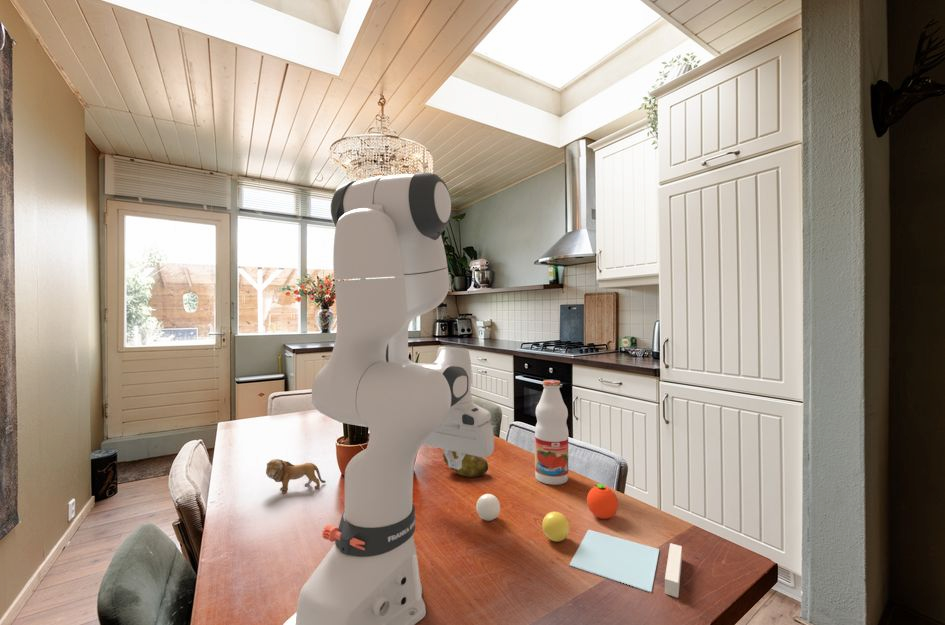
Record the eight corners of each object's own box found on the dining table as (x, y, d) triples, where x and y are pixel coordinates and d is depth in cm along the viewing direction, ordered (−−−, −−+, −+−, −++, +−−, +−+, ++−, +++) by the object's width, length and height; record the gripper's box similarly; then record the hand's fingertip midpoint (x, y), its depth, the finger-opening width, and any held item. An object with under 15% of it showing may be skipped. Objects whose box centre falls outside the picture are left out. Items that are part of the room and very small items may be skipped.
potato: (477, 484, 109) (477, 455, 109) (439, 474, 115) (439, 447, 115) (490, 473, 116) (490, 446, 116) (453, 465, 122) (453, 439, 122)
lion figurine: (266, 499, 99) (266, 464, 99) (265, 491, 104) (265, 457, 104) (327, 487, 106) (327, 454, 106) (324, 480, 111) (324, 448, 111)
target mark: (651, 592, 66) (651, 591, 66) (569, 565, 73) (569, 564, 73) (659, 550, 78) (659, 549, 78) (588, 530, 85) (588, 529, 85)
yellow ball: (564, 550, 78) (564, 522, 78) (538, 542, 81) (538, 515, 81) (572, 536, 83) (572, 510, 83) (547, 529, 86) (547, 504, 86)
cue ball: (493, 528, 86) (493, 502, 86) (471, 521, 89) (471, 496, 89) (504, 516, 91) (504, 493, 91) (483, 510, 94) (483, 487, 94)
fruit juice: (565, 472, 117) (565, 378, 117) (571, 486, 107) (571, 384, 108) (533, 471, 117) (533, 378, 118) (536, 485, 108) (536, 383, 108)
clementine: (581, 507, 95) (581, 478, 95) (608, 506, 96) (608, 477, 96) (593, 525, 87) (593, 493, 87) (623, 524, 88) (623, 492, 88)
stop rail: (678, 598, 65) (678, 582, 65) (664, 593, 66) (664, 578, 66) (681, 559, 75) (681, 546, 75) (670, 555, 76) (670, 543, 76)
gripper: (412, 409, 98) (413, 464, 98) (484, 420, 87) (484, 481, 88) (427, 403, 103) (428, 455, 104) (497, 413, 93) (497, 471, 93)
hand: (455, 467), depth 96 cm, fingers closed
